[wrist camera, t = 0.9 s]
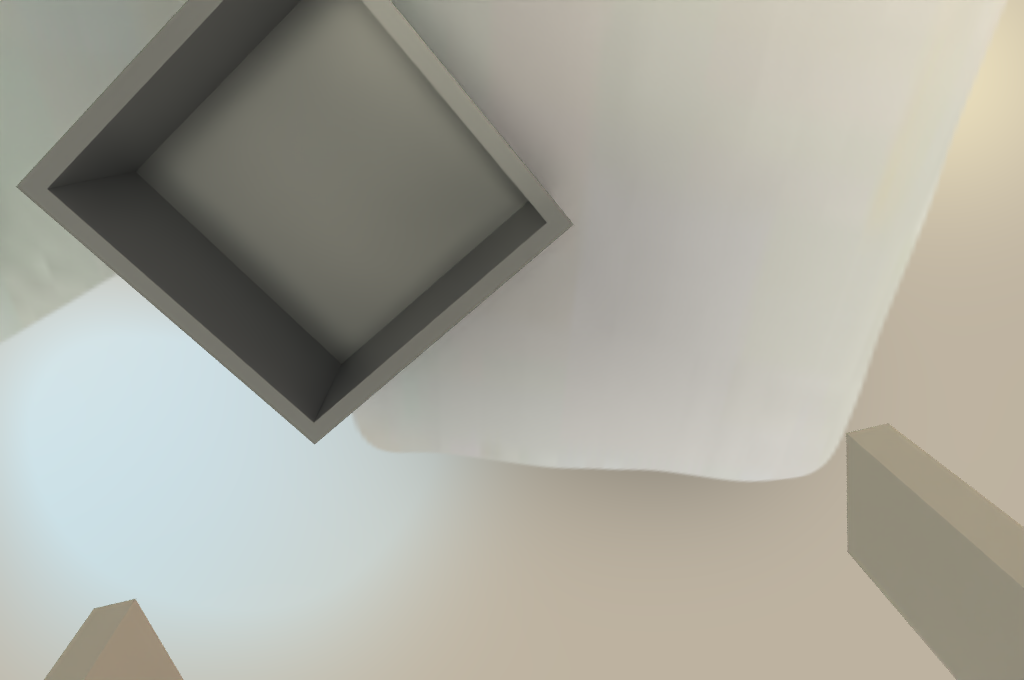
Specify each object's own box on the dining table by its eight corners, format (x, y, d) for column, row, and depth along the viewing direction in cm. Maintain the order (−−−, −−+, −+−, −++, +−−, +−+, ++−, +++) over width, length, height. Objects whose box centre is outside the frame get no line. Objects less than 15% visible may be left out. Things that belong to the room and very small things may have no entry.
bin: (121, 168, 32) (16, 186, 24) (338, -59, 29) (295, -117, 21) (345, 375, 37) (314, 444, 29) (549, 198, 34) (573, 224, 26)
